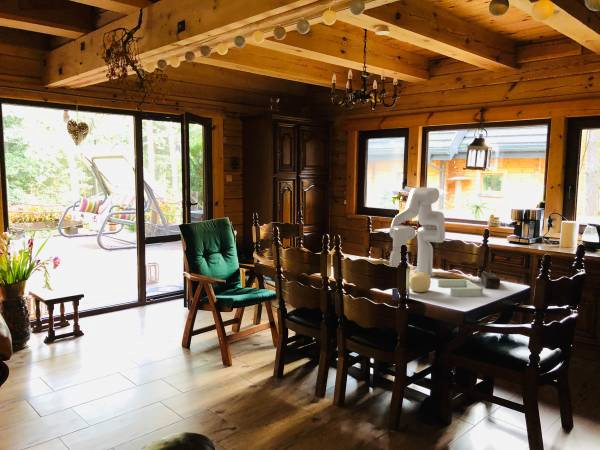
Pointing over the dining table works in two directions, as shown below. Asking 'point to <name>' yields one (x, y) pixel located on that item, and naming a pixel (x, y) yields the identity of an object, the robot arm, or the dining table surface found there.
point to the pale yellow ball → (420, 282)
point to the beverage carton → (490, 280)
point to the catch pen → (469, 291)
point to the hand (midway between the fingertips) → (398, 282)
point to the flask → (397, 295)
